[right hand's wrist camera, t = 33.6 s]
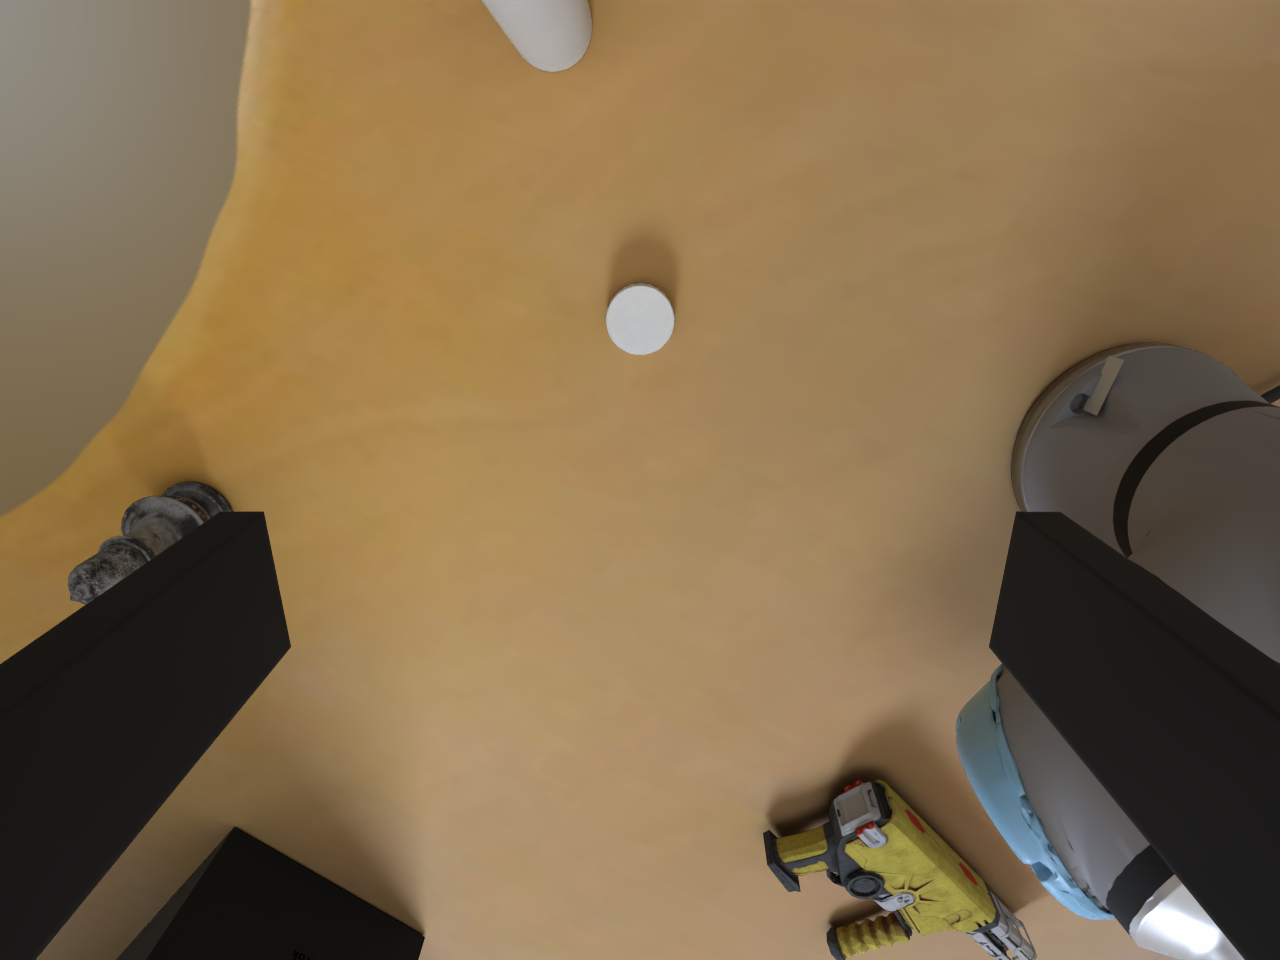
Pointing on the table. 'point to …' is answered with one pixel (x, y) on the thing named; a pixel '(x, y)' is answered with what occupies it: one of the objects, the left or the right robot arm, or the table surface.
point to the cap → (640, 319)
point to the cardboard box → (267, 914)
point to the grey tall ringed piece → (145, 536)
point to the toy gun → (894, 876)
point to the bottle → (545, 30)
